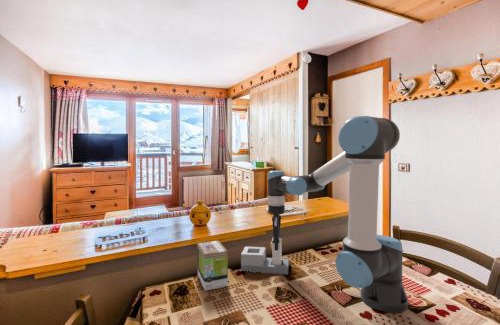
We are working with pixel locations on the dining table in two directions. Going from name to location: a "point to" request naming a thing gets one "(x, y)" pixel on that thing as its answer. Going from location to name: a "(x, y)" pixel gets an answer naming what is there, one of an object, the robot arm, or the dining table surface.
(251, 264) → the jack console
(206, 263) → the tea box
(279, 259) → the plug
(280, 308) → the dining table surface
